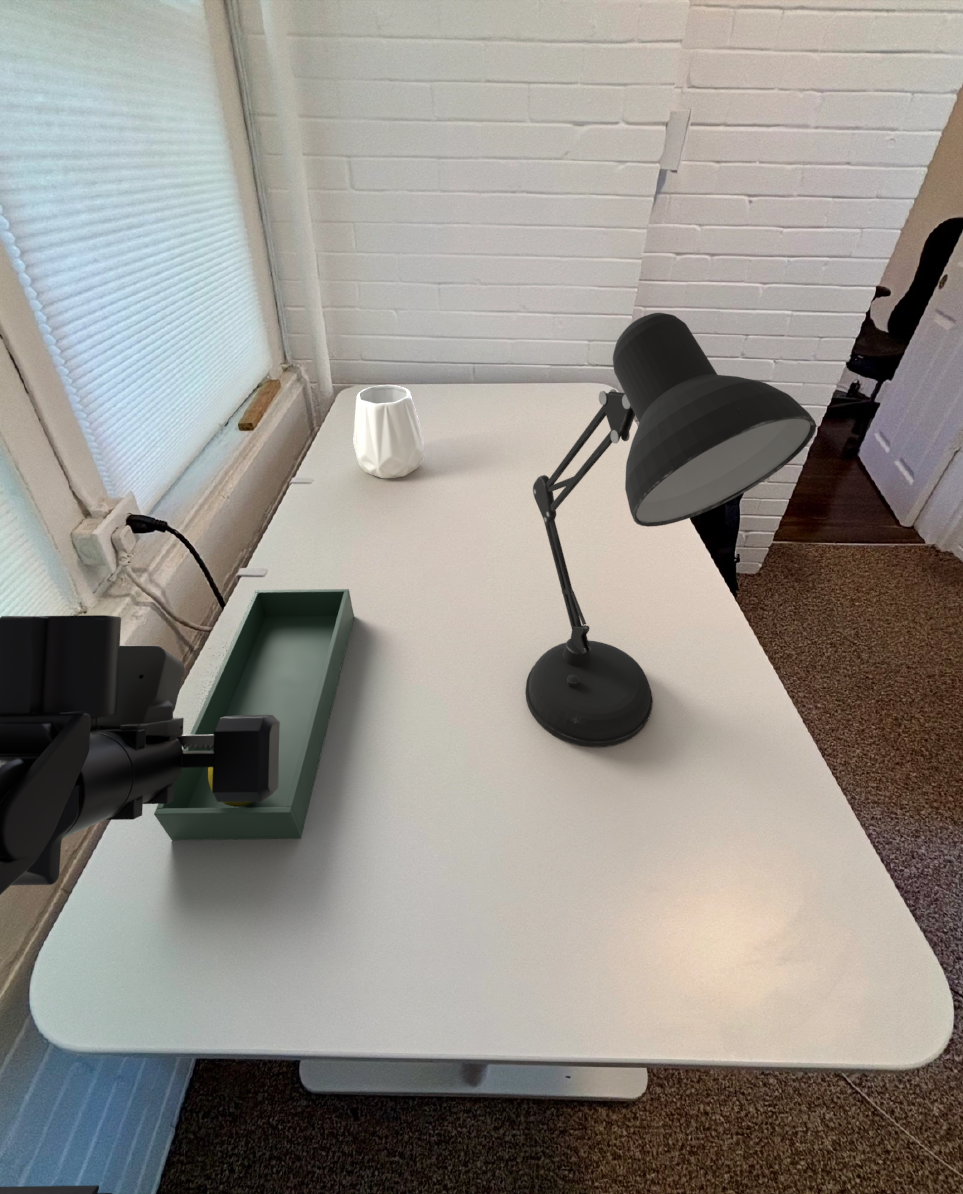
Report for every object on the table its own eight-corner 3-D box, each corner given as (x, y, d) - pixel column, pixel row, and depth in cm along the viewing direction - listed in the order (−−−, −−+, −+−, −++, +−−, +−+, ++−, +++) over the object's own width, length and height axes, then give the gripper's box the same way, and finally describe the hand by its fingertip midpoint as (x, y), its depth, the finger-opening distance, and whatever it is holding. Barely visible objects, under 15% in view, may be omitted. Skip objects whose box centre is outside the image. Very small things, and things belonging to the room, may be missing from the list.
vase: (358, 486, 115) (346, 411, 106) (355, 454, 126) (345, 383, 116) (430, 479, 117) (424, 405, 108) (421, 448, 128) (416, 378, 118)
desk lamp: (677, 824, 61) (850, 395, 32) (453, 740, 69) (429, 338, 40) (710, 666, 78) (842, 293, 49) (527, 613, 86) (547, 267, 57)
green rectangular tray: (300, 838, 60) (290, 812, 57) (171, 840, 60) (153, 814, 57) (354, 615, 86) (348, 588, 83) (263, 616, 86) (255, 589, 83)
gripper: (238, 649, 38) (308, 651, 54) (-49, 653, 38) (104, 653, 54) (233, 826, 37) (306, 776, 53) (-62, 829, 37) (97, 778, 53)
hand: (203, 742), depth 53 cm, fingers open, 9 cm apart
